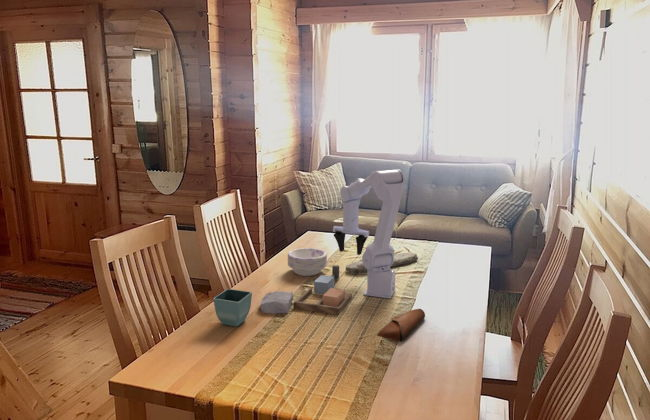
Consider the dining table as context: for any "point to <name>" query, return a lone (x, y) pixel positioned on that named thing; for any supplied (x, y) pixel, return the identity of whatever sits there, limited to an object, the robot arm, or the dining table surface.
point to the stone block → (277, 302)
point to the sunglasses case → (402, 325)
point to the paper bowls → (307, 261)
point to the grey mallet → (326, 281)
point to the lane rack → (320, 304)
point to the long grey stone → (398, 260)
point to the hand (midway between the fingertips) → (350, 252)
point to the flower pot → (232, 306)
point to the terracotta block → (334, 297)
